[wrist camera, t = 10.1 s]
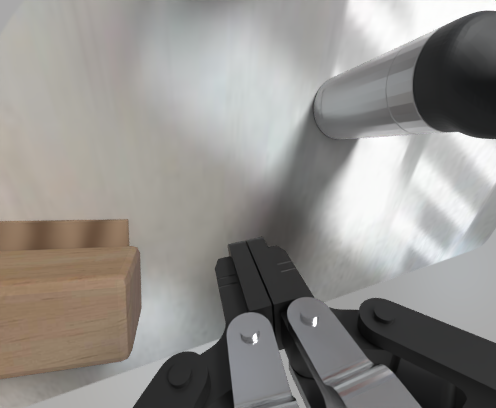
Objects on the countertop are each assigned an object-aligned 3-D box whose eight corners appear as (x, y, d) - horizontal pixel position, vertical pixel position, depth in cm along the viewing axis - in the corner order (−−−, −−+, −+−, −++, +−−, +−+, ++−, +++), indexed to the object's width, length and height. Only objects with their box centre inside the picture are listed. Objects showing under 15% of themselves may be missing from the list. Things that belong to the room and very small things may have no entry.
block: (131, 364, 28) (-121, 402, 22) (142, 309, 37) (-33, 327, 32) (127, 277, 26) (-148, 296, 21) (140, 243, 35) (-46, 250, 30)
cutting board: (128, 219, 35) (127, 221, 34) (132, 325, 38) (131, 329, 37) (-85, 222, 29) (-92, 224, 28) (-61, 347, 32) (-66, 352, 32)
